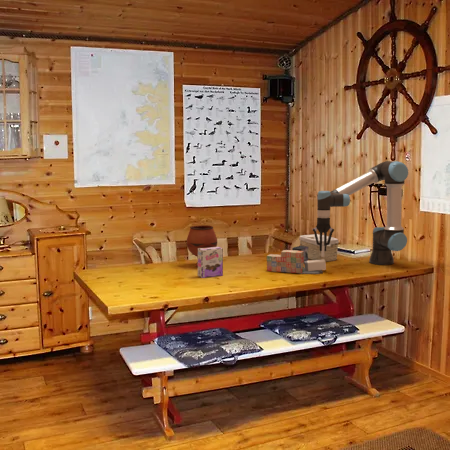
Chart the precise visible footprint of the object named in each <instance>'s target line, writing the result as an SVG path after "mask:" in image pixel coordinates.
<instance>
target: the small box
mask: <svg viewBox="0 0 450 450" xmlns="http://www.w3.org/2000/svg"><path fill="white" fill-rule="evenodd" d="M291 249H292V250H298V251H304V261H309V259H308V247H306V246H300V245H299V246H294V247H292V248H291Z"/></svg>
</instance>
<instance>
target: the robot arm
mask: <svg viewBox="0 0 450 450" xmlns="http://www.w3.org/2000/svg"><path fill="white" fill-rule="evenodd" d="M408 176H409V169H408V166H407V165H406V164H405V163H403V162H402V161H398V160H396V161H395V160H394V161H390V160H387V161H386V160H385V161H382V162H380V163H378V164H376V165H375V166H373V167H371V168H369V169H368V171H367V172H365V173H363V174H361V175H359V176H358V177H355V178H353V179H351V180H349V181H348V182H346V183H344V184H342V185H340V186H339V187H337V188H334V189H332V190H331V191H330V190H319V191H318V192H317V199H316V201H317V205H316V206H317V208H316V209H317V210H316V214H317V217H316V226H315V227H314V228H312V229H311V230H312V232H313V233H314V234H315V239H316V243H317V245H320V251H321V256H322V257H324V251H326V246H327V245H329V244H330V240H331V237H333V233H334V232H335V229H334V228H333V227H332V226H331V223H330V222H331V218H330V217H331V208H334V207H336V208H338V207H341V208H343V207H349V205H350V203H351V199H350V196H351V195H352V194H355V193H357V192H359V191H360V190H362V189H364V188H366V187H368V186H369V185H371V184H374V183H376V184H377V183H379V182H381V181H384V185H385V186H386V225H385V226H377V227H374V228H373V230H372V249H371V250H372V251H371V253H370V257H369V261H368V262H369V263H370V264H372V265H379V266H383V265H384V266H386V265H387V266H389V265H390V266H391V265H393V264H394V263H395V260H394V255H393V253H392V251H393V252H399V251H402V250H403V249H405V247H406V246H407V243H408V238H407V235H406V234H405V230H404V229H405V228H404V227H403V226H402V210H403V209H402V205H403V204H402V201H403V192H402V191H403V189H402V188H403V186H404V185H405V183H406V182H405V181H406V180H407V178H408ZM317 231H318V233H319V234H320V243H319V241H318V237H317V234H318V233H317ZM328 232H329V235H328ZM322 235H324V245H322ZM327 236H328V241H327Z"/></svg>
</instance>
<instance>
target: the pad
mask: <svg viewBox="0 0 450 450" xmlns="http://www.w3.org/2000/svg"><path fill="white" fill-rule="evenodd" d="M323 273H324V270H316V271H305V266H304V271H303V272H302V273H299V275H320V274H321V275H323Z"/></svg>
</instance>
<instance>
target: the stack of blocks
mask: <svg viewBox="0 0 450 450" xmlns="http://www.w3.org/2000/svg"><path fill="white" fill-rule="evenodd" d="M304 267H305V265H304V251H298V250H290V249H283V250H282V251H280V254H273V253H270V254H268V255H266V271H267V272H279V273H292V274H296V273H297V274H300V273H302V272H303V271H304Z"/></svg>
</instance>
